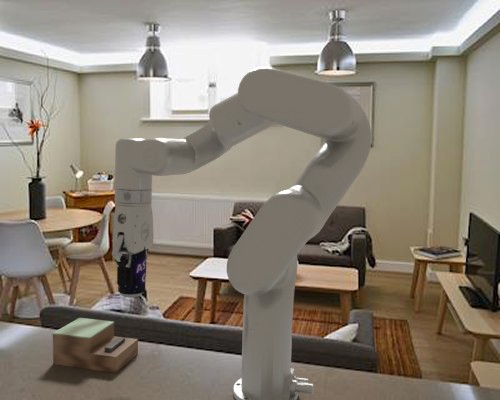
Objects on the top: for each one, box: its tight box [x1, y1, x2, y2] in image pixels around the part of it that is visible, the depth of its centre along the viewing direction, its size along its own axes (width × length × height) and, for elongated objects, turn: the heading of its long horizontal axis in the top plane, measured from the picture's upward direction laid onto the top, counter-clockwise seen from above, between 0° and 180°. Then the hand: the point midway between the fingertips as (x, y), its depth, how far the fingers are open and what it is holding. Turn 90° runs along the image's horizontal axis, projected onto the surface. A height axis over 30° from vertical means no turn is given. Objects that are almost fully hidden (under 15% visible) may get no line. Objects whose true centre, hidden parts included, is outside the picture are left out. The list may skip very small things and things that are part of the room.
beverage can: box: [117, 247, 147, 298], centre depth 101 cm, size 6×6×12 cm
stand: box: [52, 317, 139, 374], centre depth 105 cm, size 15×10×7 cm, turn 77°
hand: (132, 280), depth 101 cm, fingers closed on beverage can, 5 cm apart
